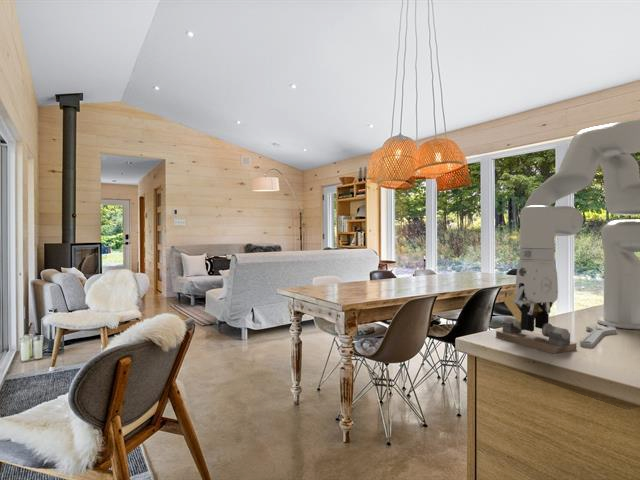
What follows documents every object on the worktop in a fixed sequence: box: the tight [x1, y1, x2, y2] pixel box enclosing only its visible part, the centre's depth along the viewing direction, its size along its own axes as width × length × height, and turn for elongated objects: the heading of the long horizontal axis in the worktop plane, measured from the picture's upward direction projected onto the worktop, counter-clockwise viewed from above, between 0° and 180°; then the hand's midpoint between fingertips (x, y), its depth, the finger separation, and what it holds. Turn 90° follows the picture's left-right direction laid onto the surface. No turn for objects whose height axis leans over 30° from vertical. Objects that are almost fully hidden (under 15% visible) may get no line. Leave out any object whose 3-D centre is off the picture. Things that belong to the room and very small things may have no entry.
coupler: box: [503, 290, 543, 323], centre depth 103 cm, size 4×4×7 cm
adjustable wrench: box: [579, 324, 617, 349], centre depth 107 cm, size 25×6×2 cm, turn 132°
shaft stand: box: [495, 315, 577, 355], centre depth 100 cm, size 8×16×6 cm, turn 25°
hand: (534, 328), depth 100 cm, fingers closed on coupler, 4 cm apart
